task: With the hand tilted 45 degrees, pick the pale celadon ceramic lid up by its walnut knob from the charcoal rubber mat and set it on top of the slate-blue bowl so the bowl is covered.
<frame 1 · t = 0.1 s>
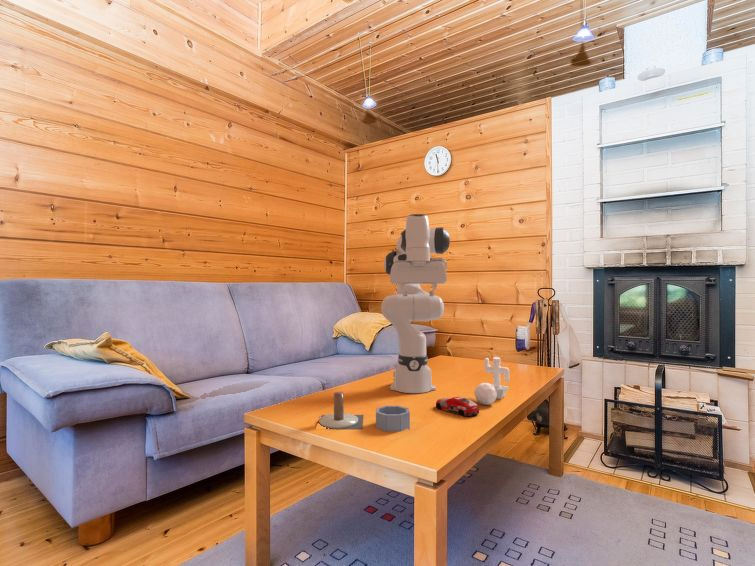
hand: (418, 296, 152), 39 cm above the table, tool pointing down, fingers open, 8 cm apart
geometric ball: (485, 404, 153), on the table
lid: (338, 422, 132), resting on mat
race car: (456, 412, 145), on the table
figurine: (496, 397, 164), on the table
bowl: (392, 426, 129), on the table
mat: (340, 422, 133), on the table
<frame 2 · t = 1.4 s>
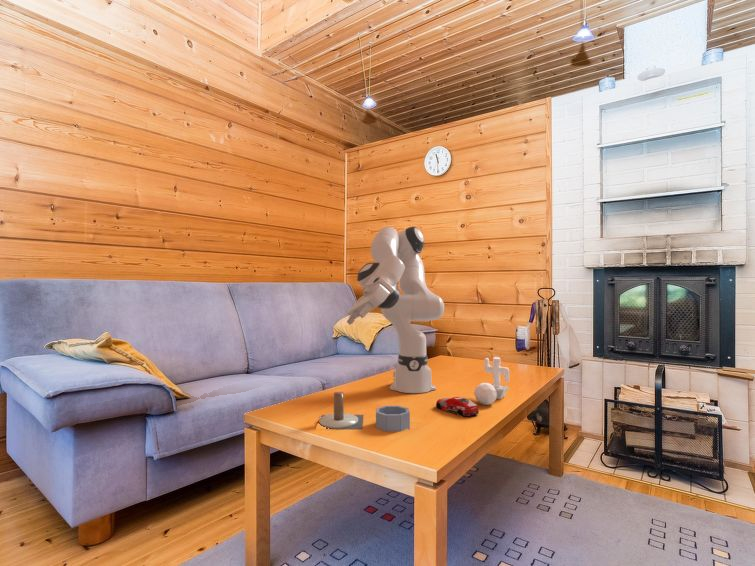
hand: (354, 319, 141), 31 cm above the table, tool tilted 45°, fingers open, 8 cm apart
nothing on the table moved.
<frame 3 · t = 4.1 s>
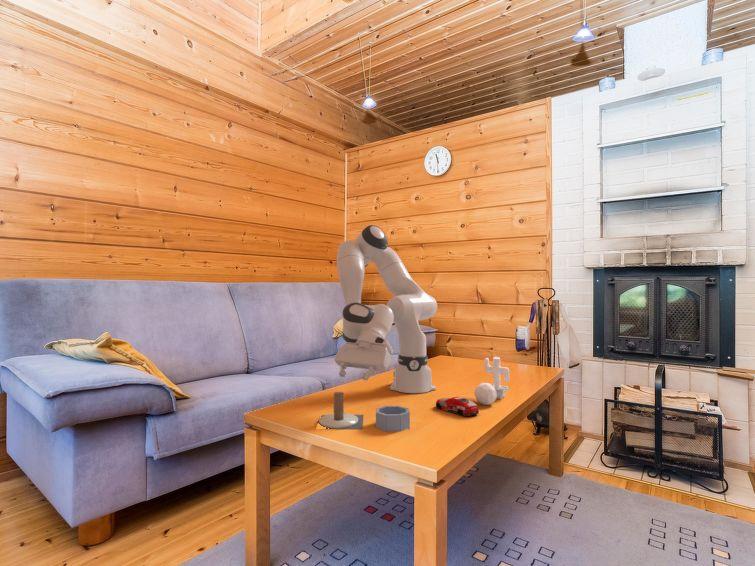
hand: (352, 377, 140), 13 cm above the table, tool tilted 45°, fingers open, 8 cm apart
nothing on the table moved.
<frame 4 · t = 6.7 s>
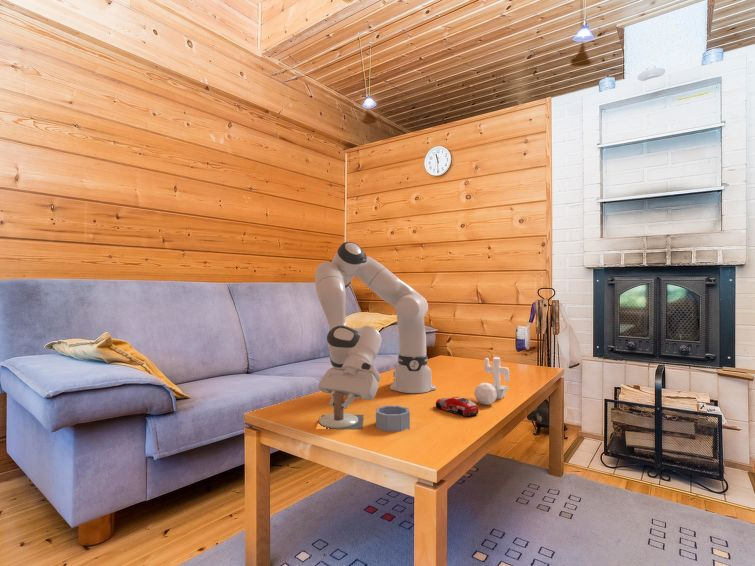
hand: (337, 406, 132), 5 cm above the table, tool tilted 45°, fingers closed on lid, 3 cm apart
lid: (338, 422, 132), resting on mat, touching gripper
everything else where it was.
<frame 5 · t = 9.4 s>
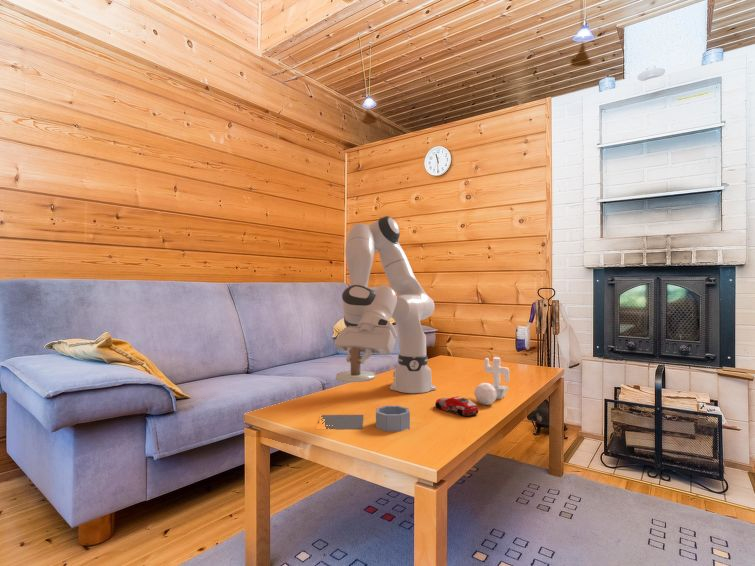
hand: (354, 361, 131), 19 cm above the table, tool tilted 45°, fingers closed on lid, 3 cm apart
lid: (355, 377, 131), point 14 cm above the table, touching gripper
everything else where it was.
when the fingers open (11 cm above the table, at t = 11.8 s): lid drops 1 cm, resting on bowl.
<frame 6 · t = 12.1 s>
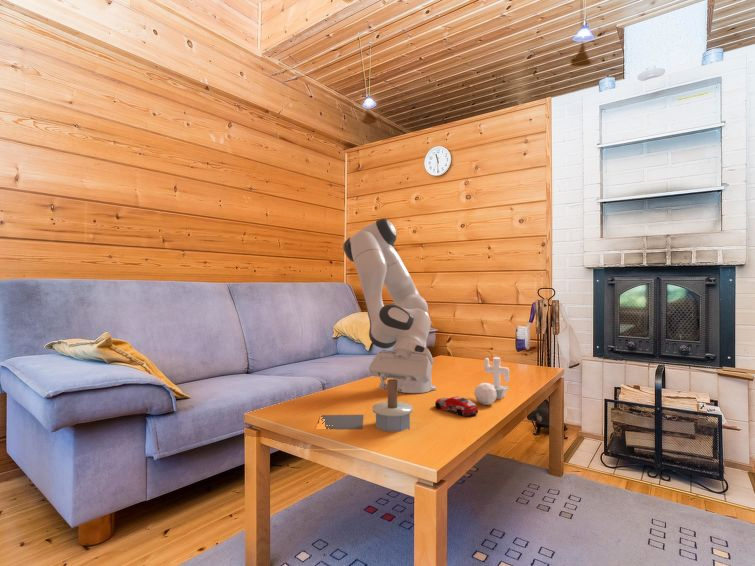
hand: (391, 389, 129), 11 cm above the table, tool tilted 45°, fingers open, 5 cm apart
lid: (392, 410, 129), point 5 cm above the table, touching bowl
everything else where it was.
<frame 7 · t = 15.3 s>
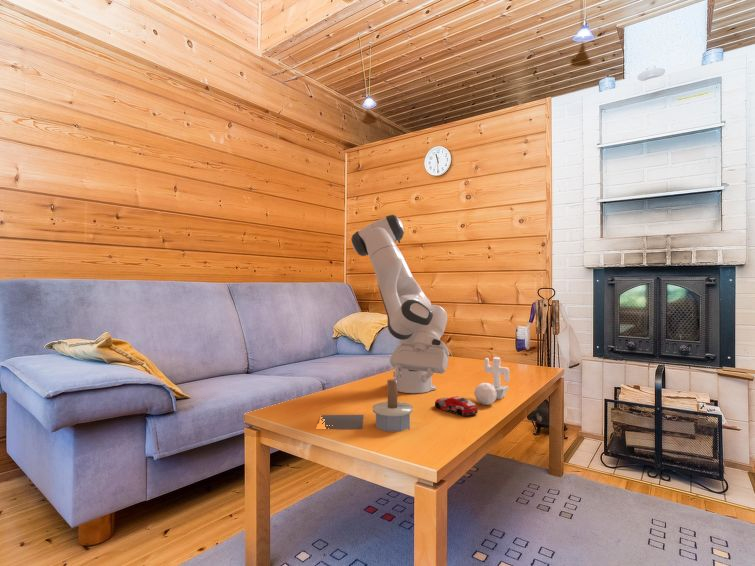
hand: (410, 379, 139), 12 cm above the table, tool tilted 45°, fingers open, 8 cm apart
nothing on the table moved.
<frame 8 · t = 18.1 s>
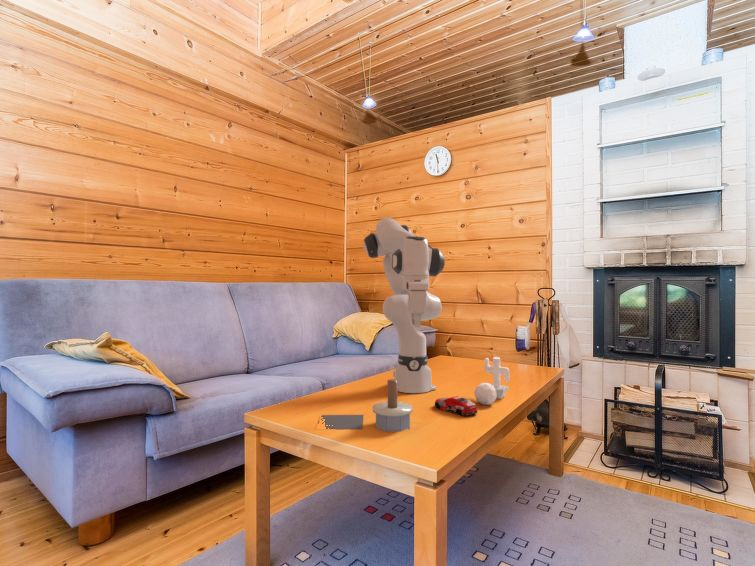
hand: (416, 326, 142), 29 cm above the table, tool pointing down, fingers open, 8 cm apart
nothing on the table moved.
at the end: lid 0.0 cm from the bowl (horizontally); lid point 5.0 cm above the table; lid tilted 0° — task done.
